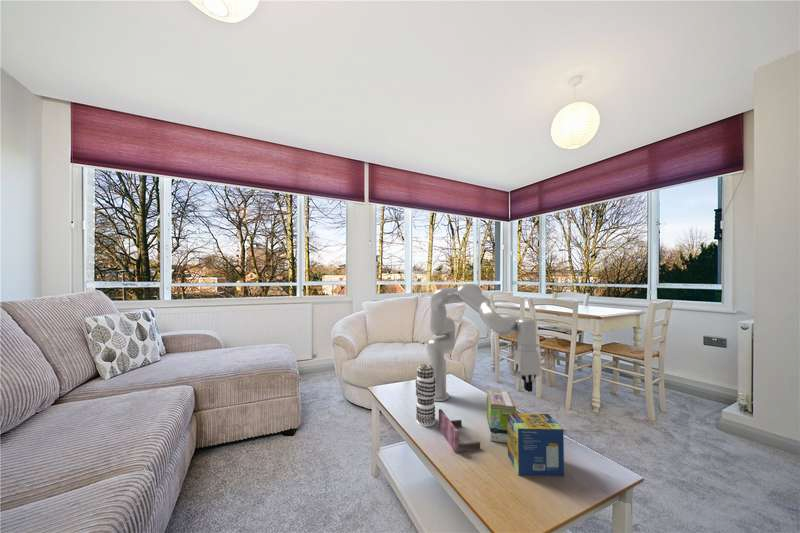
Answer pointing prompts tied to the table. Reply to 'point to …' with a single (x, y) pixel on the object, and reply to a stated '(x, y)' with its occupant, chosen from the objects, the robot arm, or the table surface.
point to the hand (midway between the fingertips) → (528, 390)
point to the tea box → (499, 414)
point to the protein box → (535, 445)
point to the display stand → (454, 434)
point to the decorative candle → (425, 395)
